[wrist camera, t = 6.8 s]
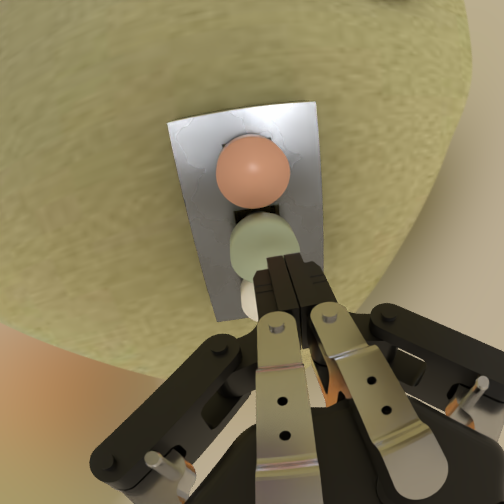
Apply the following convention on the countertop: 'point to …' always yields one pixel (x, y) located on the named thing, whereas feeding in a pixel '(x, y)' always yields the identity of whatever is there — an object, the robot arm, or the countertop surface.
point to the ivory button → (248, 300)
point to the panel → (223, 211)
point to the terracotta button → (252, 171)
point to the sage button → (260, 242)
